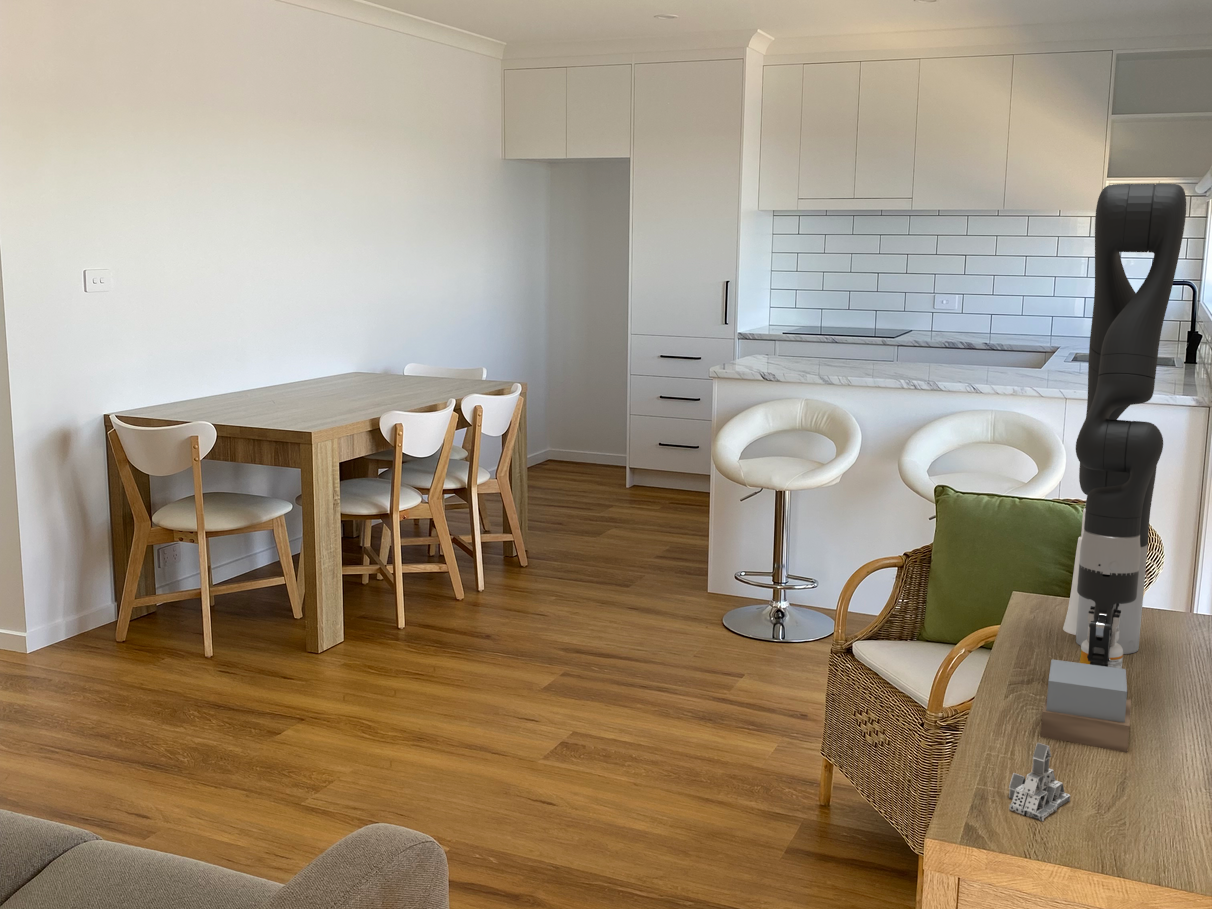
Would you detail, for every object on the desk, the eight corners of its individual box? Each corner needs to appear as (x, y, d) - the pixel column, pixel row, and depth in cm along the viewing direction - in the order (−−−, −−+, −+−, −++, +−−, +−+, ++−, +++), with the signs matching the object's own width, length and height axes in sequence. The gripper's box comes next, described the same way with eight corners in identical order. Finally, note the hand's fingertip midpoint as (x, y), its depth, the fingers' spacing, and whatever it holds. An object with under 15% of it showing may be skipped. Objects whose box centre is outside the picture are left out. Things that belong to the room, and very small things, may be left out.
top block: (1049, 687, 147) (1051, 659, 147) (1123, 698, 144) (1125, 669, 143) (1046, 710, 139) (1048, 680, 139) (1124, 722, 136) (1127, 691, 135)
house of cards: (1003, 776, 129) (1008, 713, 128) (1077, 801, 123) (1083, 736, 122) (965, 800, 123) (970, 735, 122) (1041, 828, 117) (1047, 760, 115)
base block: (1047, 714, 148) (1049, 686, 148) (1128, 728, 144) (1131, 699, 143) (1040, 741, 139) (1042, 711, 139) (1126, 757, 135) (1129, 726, 134)
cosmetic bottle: (1095, 627, 186) (1105, 500, 183) (1107, 638, 181) (1118, 507, 177) (1058, 625, 187) (1068, 499, 184) (1069, 637, 181) (1079, 506, 178)
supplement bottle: (1073, 686, 157) (1078, 620, 155) (1114, 689, 156) (1119, 623, 154) (1081, 700, 152) (1087, 632, 150) (1123, 703, 151) (1129, 635, 149)
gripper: (1085, 549, 159) (1076, 661, 161) (1073, 572, 146) (1063, 692, 149) (1142, 556, 155) (1132, 671, 158) (1135, 579, 143) (1124, 703, 145)
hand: (1099, 681), depth 153 cm, fingers closed on supplement bottle, 5 cm apart
